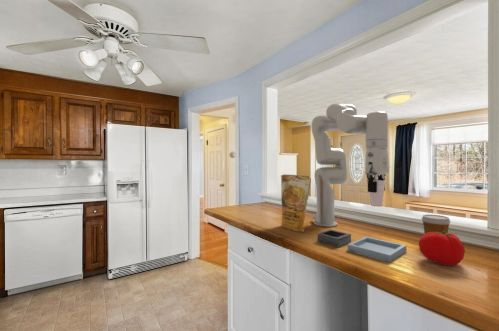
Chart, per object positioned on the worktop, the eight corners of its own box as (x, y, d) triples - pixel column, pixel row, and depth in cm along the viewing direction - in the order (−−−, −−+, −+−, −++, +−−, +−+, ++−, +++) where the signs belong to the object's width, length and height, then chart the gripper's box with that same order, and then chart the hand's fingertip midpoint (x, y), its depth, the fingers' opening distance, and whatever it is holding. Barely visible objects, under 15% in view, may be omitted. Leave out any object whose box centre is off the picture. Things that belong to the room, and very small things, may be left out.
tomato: (450, 273, 77) (450, 238, 77) (410, 258, 89) (410, 229, 89) (474, 265, 83) (474, 233, 83) (434, 253, 94) (434, 225, 94)
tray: (347, 250, 97) (347, 244, 97) (366, 242, 107) (366, 236, 107) (390, 262, 86) (390, 255, 86) (406, 251, 96) (406, 245, 95)
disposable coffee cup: (420, 241, 108) (420, 213, 108) (448, 244, 104) (448, 215, 103) (422, 247, 100) (422, 217, 100) (452, 251, 95) (452, 220, 95)
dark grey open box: (317, 241, 109) (317, 233, 109) (330, 237, 115) (330, 229, 115) (338, 247, 101) (338, 238, 101) (351, 242, 108) (351, 234, 108)
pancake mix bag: (285, 223, 140) (285, 174, 140) (312, 231, 125) (311, 175, 125) (276, 225, 137) (276, 174, 136) (302, 233, 121) (302, 175, 121)
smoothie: (382, 204, 99) (382, 169, 99) (388, 207, 93) (388, 169, 92) (365, 204, 100) (365, 169, 100) (369, 206, 94) (369, 169, 94)
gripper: (376, 143, 88) (376, 194, 88) (395, 145, 99) (395, 190, 99) (355, 144, 93) (355, 192, 94) (376, 146, 104) (376, 189, 105)
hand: (376, 191), depth 96 cm, fingers closed on smoothie, 6 cm apart
